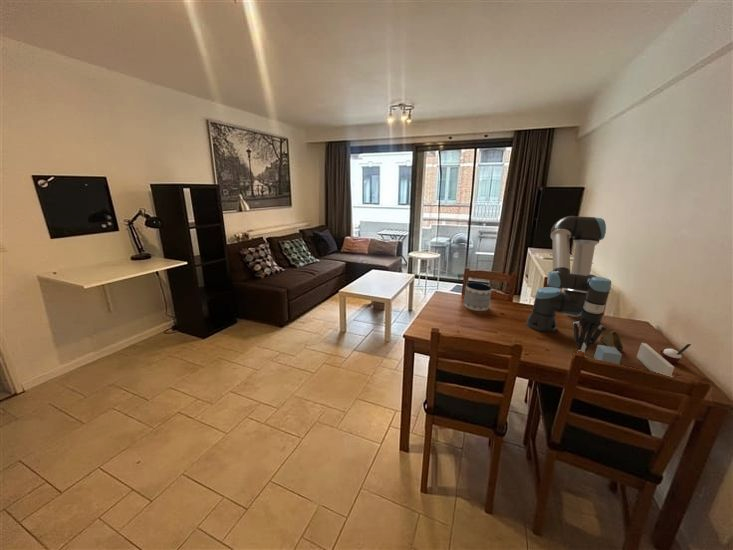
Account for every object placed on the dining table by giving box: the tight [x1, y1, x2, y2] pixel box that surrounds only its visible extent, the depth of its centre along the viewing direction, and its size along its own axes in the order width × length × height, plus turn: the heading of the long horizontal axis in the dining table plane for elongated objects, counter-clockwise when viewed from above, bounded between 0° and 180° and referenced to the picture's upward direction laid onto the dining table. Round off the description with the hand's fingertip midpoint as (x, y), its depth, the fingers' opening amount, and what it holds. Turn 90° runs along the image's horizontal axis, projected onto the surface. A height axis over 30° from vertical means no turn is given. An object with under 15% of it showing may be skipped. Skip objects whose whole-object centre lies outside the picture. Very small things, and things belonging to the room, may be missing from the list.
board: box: [636, 342, 675, 377], centre depth 136 cm, size 6×20×8 cm, turn 164°
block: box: [593, 344, 623, 365], centre depth 141 cm, size 7×7×7 cm
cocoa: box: [660, 343, 692, 364], centre depth 142 cm, size 10×6×12 cm, turn 165°
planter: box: [463, 282, 493, 312], centre depth 199 cm, size 16×16×14 cm
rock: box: [600, 329, 624, 353], centre depth 156 cm, size 11×9×10 cm
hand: (580, 355), depth 144 cm, fingers closed
